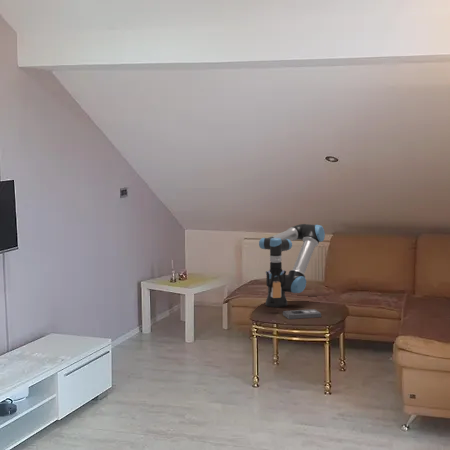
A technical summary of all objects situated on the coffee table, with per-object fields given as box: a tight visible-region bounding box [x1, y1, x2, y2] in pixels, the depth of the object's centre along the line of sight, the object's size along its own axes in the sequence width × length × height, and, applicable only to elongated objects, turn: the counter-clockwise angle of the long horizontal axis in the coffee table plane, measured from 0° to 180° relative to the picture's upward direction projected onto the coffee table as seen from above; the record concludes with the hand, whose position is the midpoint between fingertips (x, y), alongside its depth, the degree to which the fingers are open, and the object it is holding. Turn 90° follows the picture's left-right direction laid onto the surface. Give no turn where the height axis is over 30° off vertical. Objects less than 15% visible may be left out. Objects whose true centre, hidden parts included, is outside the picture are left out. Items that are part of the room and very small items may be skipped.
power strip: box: [282, 309, 322, 320], centre depth 446 cm, size 12×22×3 cm, turn 103°
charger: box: [272, 281, 281, 298], centre depth 453 cm, size 5×5×10 cm
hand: (276, 296), depth 454 cm, fingers closed on charger, 5 cm apart
